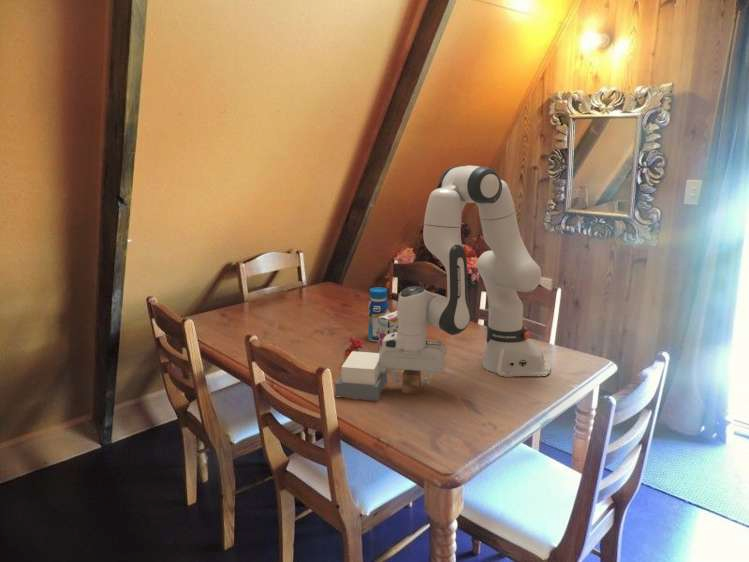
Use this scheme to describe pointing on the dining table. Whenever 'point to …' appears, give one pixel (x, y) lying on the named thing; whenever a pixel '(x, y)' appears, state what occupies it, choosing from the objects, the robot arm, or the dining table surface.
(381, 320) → the candy bar box
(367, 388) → the tower base
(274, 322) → the dining table surface
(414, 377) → the walnut block
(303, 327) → the dining table surface
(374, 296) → the beverage bottle
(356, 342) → the bird rattle
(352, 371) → the tower top
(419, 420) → the dining table surface
